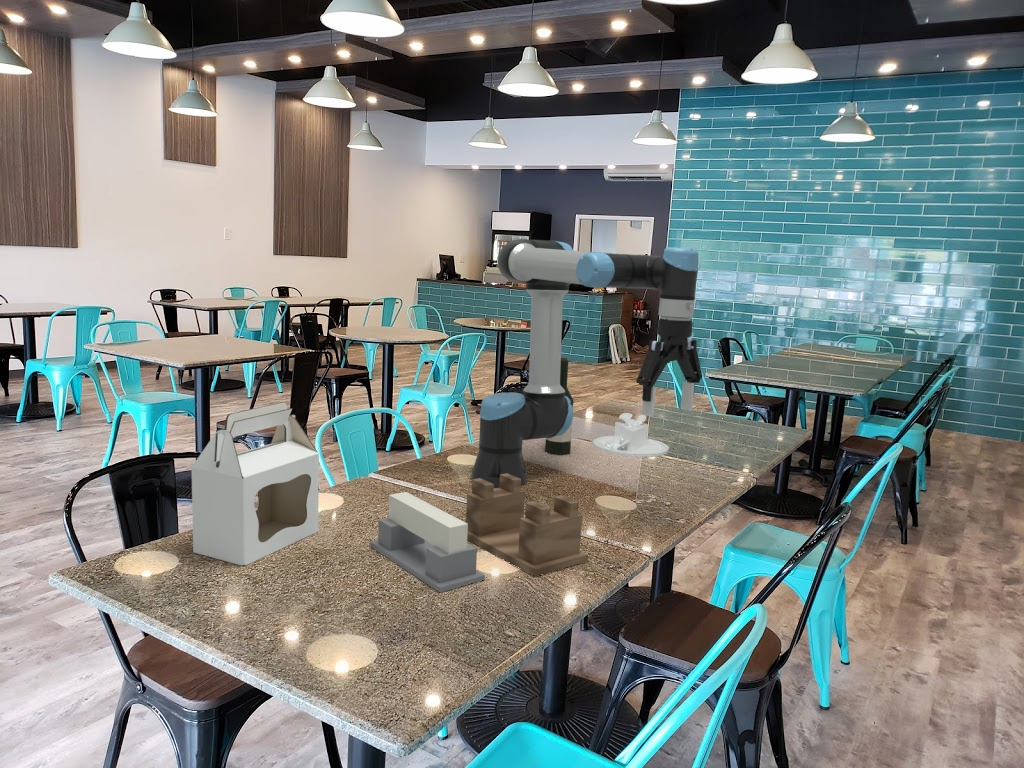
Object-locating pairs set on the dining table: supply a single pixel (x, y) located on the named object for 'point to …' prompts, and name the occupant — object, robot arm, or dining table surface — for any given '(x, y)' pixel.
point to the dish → (631, 439)
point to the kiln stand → (426, 558)
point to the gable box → (255, 488)
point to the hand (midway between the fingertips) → (667, 413)
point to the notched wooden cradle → (524, 527)
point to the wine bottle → (563, 442)
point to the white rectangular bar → (428, 522)
